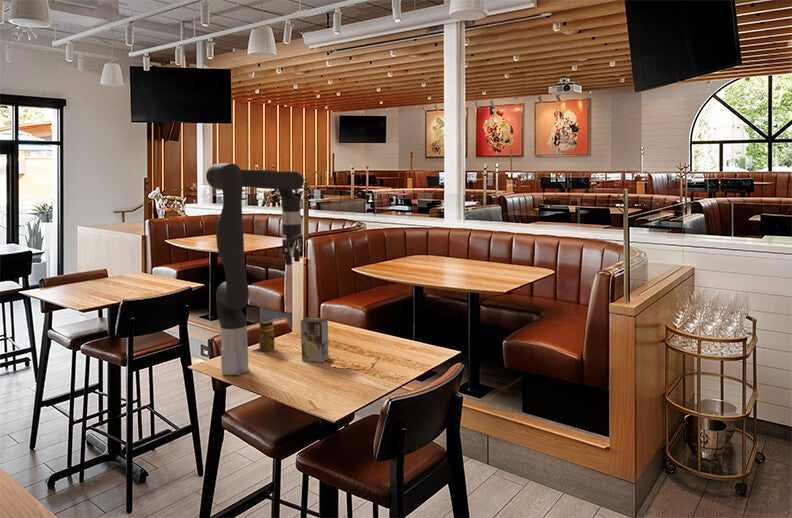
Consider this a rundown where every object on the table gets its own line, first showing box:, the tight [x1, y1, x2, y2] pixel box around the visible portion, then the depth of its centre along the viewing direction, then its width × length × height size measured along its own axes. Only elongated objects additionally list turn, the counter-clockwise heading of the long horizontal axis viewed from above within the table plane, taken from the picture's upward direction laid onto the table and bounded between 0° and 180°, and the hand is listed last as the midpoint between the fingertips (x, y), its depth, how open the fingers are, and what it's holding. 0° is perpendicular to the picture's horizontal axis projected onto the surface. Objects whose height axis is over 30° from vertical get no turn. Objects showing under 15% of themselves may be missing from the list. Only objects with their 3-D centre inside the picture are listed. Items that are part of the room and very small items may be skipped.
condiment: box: [251, 320, 279, 355], centre depth 235 cm, size 7×8×12 cm
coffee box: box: [300, 316, 329, 363], centre depth 223 cm, size 9×6×16 cm
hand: (292, 263), depth 230 cm, fingers open, 8 cm apart
